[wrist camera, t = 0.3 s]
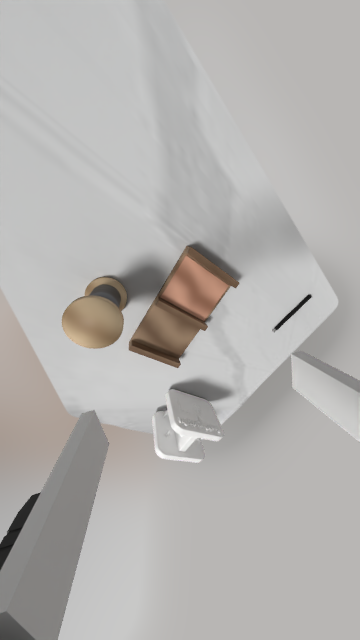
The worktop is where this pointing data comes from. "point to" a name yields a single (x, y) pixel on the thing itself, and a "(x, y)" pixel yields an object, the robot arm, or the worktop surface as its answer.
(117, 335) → the cord spool
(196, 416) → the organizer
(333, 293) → the worktop surface
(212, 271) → the slot cradle
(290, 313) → the black pen
